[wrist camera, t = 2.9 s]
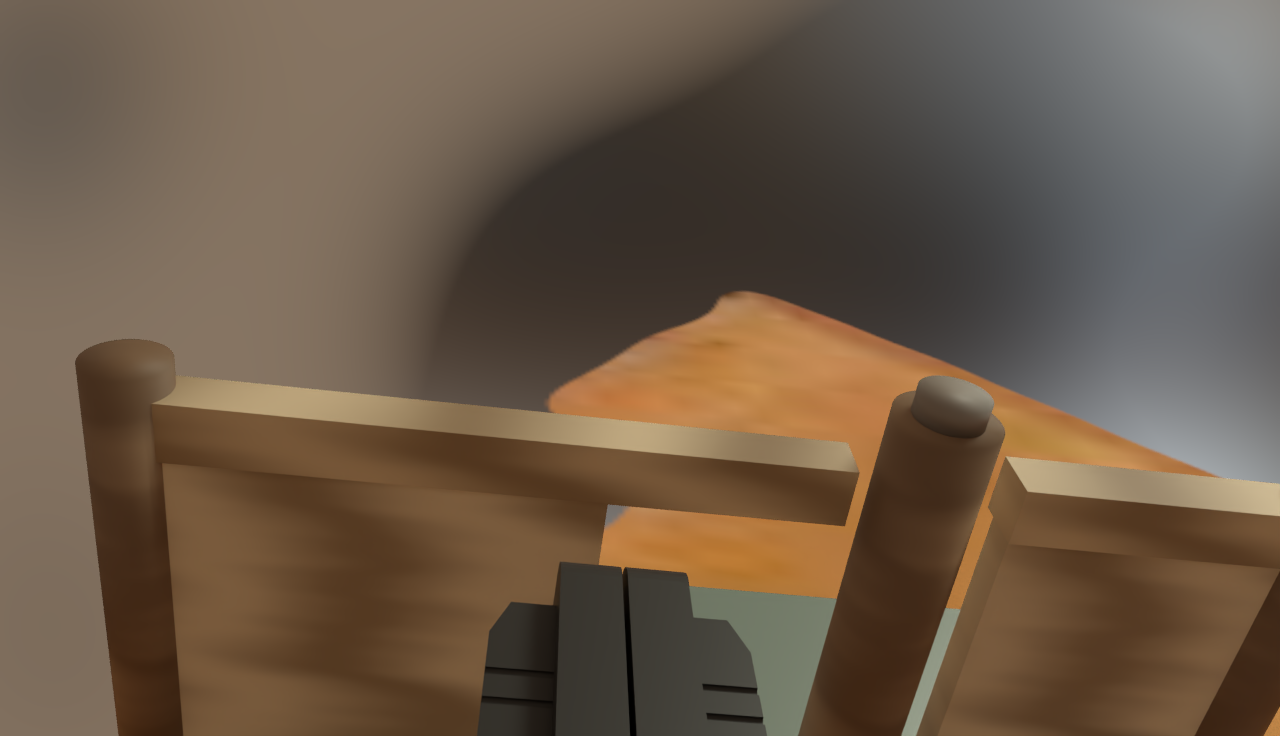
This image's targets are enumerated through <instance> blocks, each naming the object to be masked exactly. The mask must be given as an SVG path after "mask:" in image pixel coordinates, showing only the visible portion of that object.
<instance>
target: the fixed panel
mask: <svg viewBox="0 0 1280 736" xmlns="http://www.w3.org/2000/svg"><path fill="white" fill-rule="evenodd" d="M988 508H989V510H990V512H991V513H992V515H993V520H992V522H991V525H990V528H989V531H988V534H987V537H986V539H985V542H984V545H983V548H982V551H981V553H980V556H979V559H978V562H977V565H976V568H975V570H974V573H973V576H972V579H971V582H970V585H969V587H968V590H967V593H966V596H965V599H964V601H963V604H962V607H961V610H960V613H959V616H958V618H957V621H956V624H955V627H954V630H953V633H952V635H951V638H950V641H949V644H948V647H947V650H946V652H945V655H944V658H943V661H942V664H941V666H940V669H939V672H938V675H937V678H936V681H935V683H934V686H933V689H932V692H931V695H930V698H929V700H928V703H927V706H926V709H925V712H924V715H923V717H922V720H921V723H920V726H919V729H918V731H917V734H916V736H1264V734H1265V732H1266V730H1267V729H1268V727H1269V725H1270V723H1271V721H1272V720H1273V718H1274V716H1275V714H1276V712H1277V711H1278V709H1279V707H1280V484H1275V483H1264V482H1255V481H1245V480H1235V479H1225V478H1215V477H1205V476H1195V475H1186V474H1176V473H1166V472H1156V471H1146V470H1136V469H1126V468H1116V467H1106V466H1096V465H1086V464H1076V463H1066V462H1056V461H1046V460H1036V459H1026V458H1016V457H1005V460H1004V463H1003V466H1002V469H1001V471H1000V474H999V477H998V480H997V483H996V486H995V489H994V491H993V494H992V497H991V500H990V503H989V506H988Z"/></svg>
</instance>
